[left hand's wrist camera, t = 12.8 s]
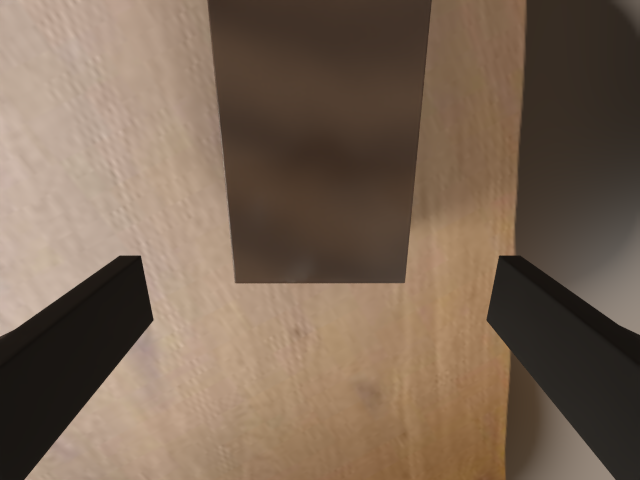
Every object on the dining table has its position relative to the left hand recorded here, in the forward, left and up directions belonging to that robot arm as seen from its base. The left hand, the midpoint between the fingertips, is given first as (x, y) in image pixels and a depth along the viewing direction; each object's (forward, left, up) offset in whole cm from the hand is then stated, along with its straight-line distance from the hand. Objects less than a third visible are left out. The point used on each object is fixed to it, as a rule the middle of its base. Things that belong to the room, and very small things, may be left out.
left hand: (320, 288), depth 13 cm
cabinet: (+5, 0, -16) cm, 17 cm away
